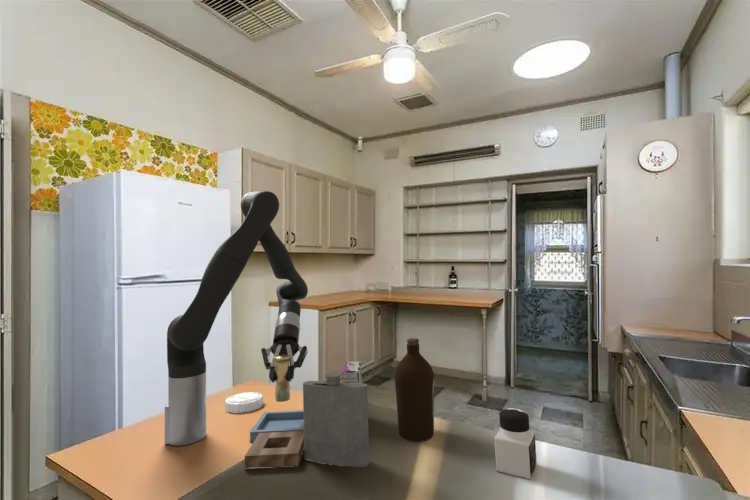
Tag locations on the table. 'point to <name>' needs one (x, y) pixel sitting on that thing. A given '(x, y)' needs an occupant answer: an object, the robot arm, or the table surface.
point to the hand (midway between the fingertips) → (281, 380)
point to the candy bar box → (352, 372)
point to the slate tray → (278, 423)
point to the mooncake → (244, 402)
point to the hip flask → (336, 422)
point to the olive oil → (415, 395)
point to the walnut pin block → (276, 449)
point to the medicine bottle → (515, 444)
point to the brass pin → (282, 378)
